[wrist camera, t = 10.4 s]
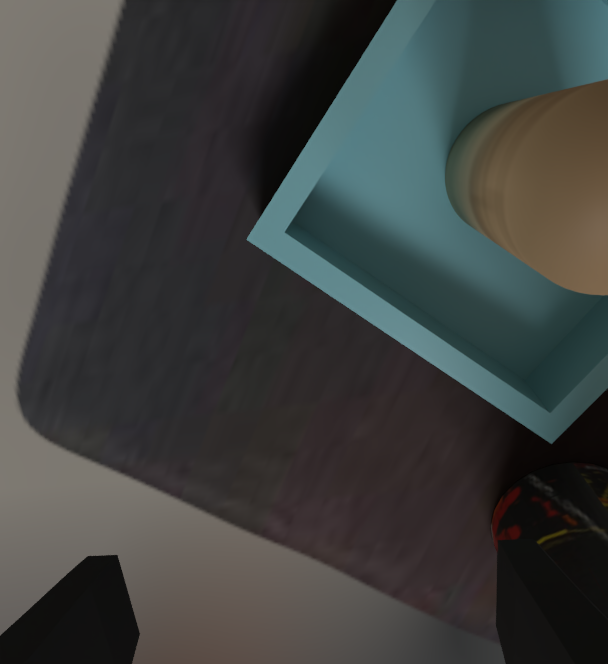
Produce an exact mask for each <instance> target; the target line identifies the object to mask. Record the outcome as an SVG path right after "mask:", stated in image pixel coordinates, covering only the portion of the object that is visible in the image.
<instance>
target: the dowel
mask: <svg viewBox="0 0 608 664" xmlns="http://www.w3.org/2000/svg"><path fill="white" fill-rule="evenodd" d="M445 185H446V191H447V195H448V198H449V201H450V203H451V205H452V207H453V209H454V210H455V212H456V213H457V214H458V216H459V217H460V218H461V219H462V220H463V221H464V222H465V223H466V224H468V225H469V226H471V227H472V228H474V229H475V230H477V231H478V232H480V233H481V234H483V235H484V236H485V237H487V238H488V239H490V240H491V241H493V242H494V243H496V244H497V245H499V246H500V247H502V248H503V249H505V250H506V251H508V252H509V253H511V254H512V255H513V256H515V257H516V258H518V259H519V260H521V261H522V262H524V263H525V264H527V265H528V266H530V267H531V268H533V269H534V270H536V271H537V272H539V273H540V274H541V275H543V276H544V277H546V278H547V279H549V280H550V281H552V282H553V283H555V284H557V285H559V286H562V287H564V288H566V289H569V290H572V291H575V292H579V293H585V294H590V295H608V79H607V80H602V81H598V82H594V83H590V84H585V85H581V86H577V87H572V88H568V89H564V90H560V91H555V92H551V93H547V94H543V95H538V96H534V97H530V98H526V99H521V100H517V101H513V102H509V103H505V104H501V105H497V106H495V107H492V108H490V109H488V110H486V111H484V112H482V113H481V114H480V115H478V116H477V117H475V118H474V119H473V120H472V121H471V122H470V123H468V124H467V125H466V127H465V128H464V129H463V130H462V131H461V132H460V134H459V135H458V137H457V138H456V140H455V142H454V144H453V146H452V148H451V150H450V153H449V155H448V159H447V163H446V169H445Z"/></svg>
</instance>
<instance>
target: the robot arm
mask: <svg viewBox="0 0 608 664" xmlns="http://www.w3.org/2000/svg"><path fill="white" fill-rule="evenodd" d="M496 627H497V631H498V635H499V639H500V643H501V647H502V651H503V654H504V658H505V662H506V664H608V618H607V617H606V616H605V615H604V614H603V613H602V612H601V611H600V610H599V609H598V608H597V607H596V606H595V605H594V604H593V603H592V602H591V601H590V600H589V598H588V597H587V596H586V595H585V594H584V593H583V592H582V591H581V590H580V589H579V588H578V587H577V586H576V585H575V584H574V583H573V581H572V580H571V579H570V578H569V577H568V576H567V575H566V574H565V573H564V572H563V571H562V569H561V568H560V567H559V566H558V565H557V564H556V563H555V562H554V561H553V559H552V558H551V557H550V556H549V555H548V554H547V553H546V552H545V551H544V549H543V548H542V547H541V546H540V545H539V544H538V543H537V542H536V541H535V540H534V539H513V540H498V551H497V606H496ZM139 635H140V633H139V629H138V626H137V622H136V619H135V615H134V612H133V608H132V605H131V601H130V598H129V594H128V591H127V587H126V584H125V581H124V577H123V573H122V570H121V566H120V562H119V560H118V556H117V555H106V556H88V557H86V558H85V559H84V560H83V561H82V562H81V563H79V564H78V565H77V566H76V567H75V568H74V569H73V570H71V571H70V572H69V573H68V574H67V575H66V576H65V577H64V578H63V579H61V580H60V581H59V582H58V583H57V584H56V585H55V586H54V587H53V588H52V589H51V590H50V591H48V592H47V593H46V594H45V595H44V596H43V597H42V598H41V599H40V600H39V601H38V602H37V603H36V604H34V605H33V606H32V607H31V608H30V609H29V610H28V611H27V612H26V613H25V614H24V615H22V616H21V617H20V618H19V619H18V620H17V621H16V622H15V623H14V624H13V625H11V626H10V627H9V628H8V629H7V630H6V631H5V632H4V633H3V634H2V635H1V636H0V664H132V661H133V657H134V654H135V650H136V646H137V642H138V639H139Z"/></svg>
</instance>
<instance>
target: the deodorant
mask: <svg viewBox="0 0 608 664" xmlns="http://www.w3.org/2000/svg"><path fill="white" fill-rule="evenodd" d="M491 531H492V540H493V543H494V546H495V548H496V551H498V540H513V539H534V540H535V541H536V542H537V543H538V544H539V545H540V546H541V547H542V548H543V549H544V551H545V552H546V553H547V554H548V555H549V556H550V557H551V558H552V559H553V561H554V562H555V563H556V564H557V565H558V566H559V567H560V568H561V569H562V571H563V572H564V573H565V574H566V575H567V576H568V577H569V578H570V579H571V580H572V581H573V583H574V584H575V585H576V586H577V587H578V588H579V589H580V590H581V591H582V592H583V593H584V594H585V595H586V596H587V597H588V598H589V600H590V601H591V602H592V603H593V604H594V605H595V606H596V607H597V608H598V609H599V610H600V611H601V612H602V613H603V614H604V615H605V616H606V617H607V618H608V469H607V468H604V467H601V466H598V465H595V464H589V463H576V462H570V463H563V464H555V465H550V466H547V467H545V468H542V469H539V470H536V471H533V472H531V473H530V474H528V475H527V476H525V477H523V478H522V479H520V480H519V481H517V482H515V483H514V485H513V486H512V487H511V488H510V489H509V490H508V491H507V492H506V493H505V494H504V495H503V496H502V497H501V499H500V501H499V503H498V505H497V506H496V508H495V510H494V514H493V518H492V523H491Z"/></svg>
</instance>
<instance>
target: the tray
mask: <svg viewBox="0 0 608 664" xmlns="http://www.w3.org/2000/svg"><path fill="white" fill-rule="evenodd" d="M607 79H608V0H397V1H396V3H395V5H394V6H393V8H392V9H391V11H390V12H389V14H388V16H387V17H386V19H385V20H384V22H383V24H382V25H381V27H380V28H379V30H378V31H377V33H376V35H375V36H374V38H373V39H372V41H371V43H370V44H369V46H368V47H367V49H366V51H365V52H364V54H363V55H362V57H361V58H360V60H359V62H358V63H357V65H356V66H355V68H354V70H353V71H352V73H351V74H350V76H349V78H348V79H347V81H346V82H345V84H344V85H343V87H342V89H341V90H340V92H339V93H338V95H337V97H336V98H335V100H334V101H333V103H332V105H331V106H330V108H329V109H328V111H327V112H326V114H325V116H324V117H323V119H322V120H321V122H320V124H319V125H318V127H317V128H316V130H315V132H314V133H313V135H312V136H311V138H310V139H309V141H308V143H307V144H306V146H305V147H304V149H303V151H302V152H301V154H300V155H299V157H298V158H297V160H296V162H295V163H294V165H293V166H292V168H291V170H290V171H289V173H288V174H287V176H286V178H285V179H284V181H283V182H282V184H281V185H280V187H279V189H278V190H277V192H276V193H275V195H274V197H273V198H272V200H271V201H270V203H269V205H268V206H267V208H266V209H265V211H264V212H263V214H262V216H261V217H260V219H259V220H258V222H257V224H256V225H255V227H254V228H253V230H252V232H251V233H250V235H249V236H248V238H247V239H246V240H248V241H249V242H251V243H252V244H254V245H255V246H257V247H258V248H260V249H261V250H263V251H264V252H266V253H267V254H269V255H270V256H272V257H273V258H275V259H276V260H278V261H279V262H281V263H282V264H284V265H285V266H287V267H288V268H290V269H291V270H293V271H294V272H296V273H297V274H299V275H300V276H302V277H303V278H305V279H306V280H308V281H309V282H311V283H312V284H314V285H315V286H317V287H318V288H320V289H321V290H323V291H324V292H326V293H327V294H329V295H330V296H332V297H333V298H335V299H336V300H337V301H339V302H340V303H342V304H343V305H345V306H346V307H348V308H349V309H351V310H352V311H354V312H355V313H357V314H358V315H360V316H361V317H363V318H364V319H366V320H367V321H369V322H370V323H372V324H373V325H375V326H376V327H378V328H379V329H381V330H382V331H384V332H385V333H387V334H388V335H390V336H391V337H393V338H394V339H396V340H397V341H399V342H400V343H402V344H403V345H405V346H406V347H408V348H409V349H411V350H412V351H414V352H415V353H417V354H418V355H420V356H421V357H423V358H424V359H426V360H427V361H428V362H430V363H431V364H433V365H434V366H436V367H437V368H439V369H440V370H442V371H443V372H445V373H446V374H448V375H449V376H451V377H452V378H454V379H455V380H457V381H458V382H460V383H461V384H463V385H464V386H466V387H467V388H469V389H470V390H472V391H473V392H475V393H476V394H478V395H479V396H481V397H482V398H484V399H485V400H487V401H488V402H490V403H491V404H493V405H494V406H496V407H497V408H499V409H500V410H502V411H503V412H505V413H506V414H508V415H509V416H511V417H512V418H514V419H515V420H517V421H518V422H520V423H521V424H522V425H524V426H525V427H527V428H528V429H530V430H531V431H533V432H534V433H536V434H537V435H539V436H540V437H542V438H543V439H545V440H546V441H548V442H549V443H551V444H552V443H553V442H554V441H555V440H556V439H557V438H558V437H559V436H560V435H561V434H562V433H563V432H564V431H565V430H566V429H567V428H568V427H569V426H570V425H571V424H572V423H573V422H574V421H575V420H576V419H577V418H578V417H579V416H580V415H581V414H582V413H583V412H584V411H585V410H586V409H587V408H588V407H589V406H590V405H591V404H592V403H593V402H594V401H595V400H596V399H597V398H598V397H599V396H600V395H601V394H602V393H603V392H604V391H605V390H606V389H607V388H608V295H590V294H585V293H579V292H575V291H572V290H569V289H566V288H564V287H562V286H559V285H557V284H555V283H553V282H552V281H550V280H549V279H547V278H546V277H544V276H543V275H541V274H540V273H539V272H537V271H536V270H534V269H533V268H531V267H530V266H528V265H527V264H525V263H524V262H522V261H521V260H519V259H518V258H516V257H515V256H513V255H512V254H511V253H509V252H508V251H506V250H505V249H503V248H502V247H500V246H499V245H497V244H496V243H494V242H493V241H491V240H490V239H488V238H487V237H485V236H484V235H483V234H481V233H480V232H478V231H477V230H475V229H474V228H472V227H471V226H469V225H468V224H466V223H465V222H464V221H463V220H462V219H461V218H460V217H459V216H458V214H457V213H456V212H455V210H454V209H453V207H452V205H451V203H450V201H449V198H448V195H447V191H446V185H445V169H446V163H447V159H448V155H449V153H450V150H451V148H452V146H453V144H454V142H455V140H456V138H457V137H458V135H459V134H460V132H461V131H462V130H463V129H464V128H465V127H466V125H467V124H468V123H470V122H471V121H472V120H473V119H474V118H475V117H477V116H478V115H480V114H481V113H482V112H484V111H486V110H488V109H490V108H492V107H495V106H497V105H501V104H505V103H509V102H513V101H517V100H521V99H526V98H530V97H534V96H538V95H543V94H547V93H551V92H555V91H560V90H564V89H568V88H572V87H577V86H581V85H585V84H590V83H594V82H598V81H602V80H607Z"/></svg>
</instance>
